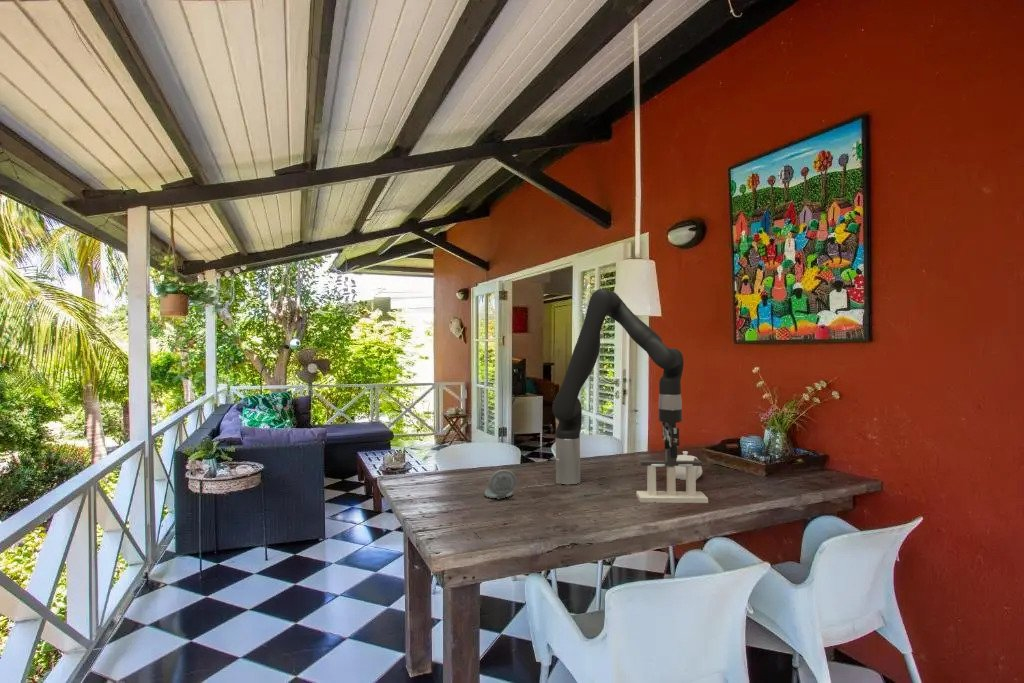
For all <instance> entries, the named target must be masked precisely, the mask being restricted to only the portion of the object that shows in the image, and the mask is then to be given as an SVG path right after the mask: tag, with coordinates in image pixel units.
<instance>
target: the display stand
mask: <svg viewBox="0 0 1024 683" xmlns="http://www.w3.org/2000/svg"><path fill="white" fill-rule="evenodd" d="M676 480H677V479H676V476H675V466H666V491H665V490H657V467H654V466H646V484H647V486H646V489H647V490H636V492H635V493H636V498H637V499H638V501H639V502H640V503H654V502H656V503H659V504H660V503H664V504H665V503H669V504H671V503H672V504H674V503H675V504H676V503H677V504H678V503H679V504H682V503H683V504H685V503H686V504H709V498H708V497H707V496H706V495H705V494H704V493H703V492H702V491H701V490H699V491H697V489H696V483H697V480H696V473H695V466H691V467H686V480H685V484H686V485H685V491H684V490H683V491H681V490H679V491H677V490H676V484H677V483H676Z"/></svg>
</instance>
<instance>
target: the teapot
mask: <svg viewBox="0 0 1024 683" xmlns="http://www.w3.org/2000/svg"><path fill="white" fill-rule="evenodd" d="M688 453H689V451H686V450H685V451H682V454H677V458H676V461H694V458H697V459H698V460H699V458H698V457H697V456H693V455H690V454H688ZM702 467H703V466H695V473H696V481H697V480H698V479H699V478H700V477H701V475H702V474H703V468H702ZM675 476H676V480H679V479H680V481H686V467H681V466H675Z"/></svg>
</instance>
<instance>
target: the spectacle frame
mask: <svg viewBox="0 0 1024 683" xmlns="http://www.w3.org/2000/svg"><path fill="white" fill-rule="evenodd" d="M664 452H665V453H664V454H665V459H664V460H642V459H641V457H639V458H638V457H637V461H638V463H639V464H640V465H641V467H643V466H644V467H647V466H654V467H656V468H661V467H667V466H681V467H691V466H701V467H703V462H702V461H701V460H699V458H698V457H697V458H698V459H697V458H694V461H676V458H670V449H665V451H664Z"/></svg>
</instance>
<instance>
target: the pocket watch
mask: <svg viewBox="0 0 1024 683" xmlns="http://www.w3.org/2000/svg"><path fill="white" fill-rule="evenodd" d="M487 483H488V488H487V489H485V491H484V493H483V494H485V495H484V496H485V497H486V496H488V497H492V498H504V497H508V496H510V497H511V495H512V496H513V494H514V492H513V491H514V490H515V487H516V484H517V477H516V475H515V473H514V472H512V471H511V470H509V469H499V470H497V471H495V472H494V473H493V474H492V475H491V476H490V477H489V479H488V482H487ZM488 497H487V498H488Z"/></svg>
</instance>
